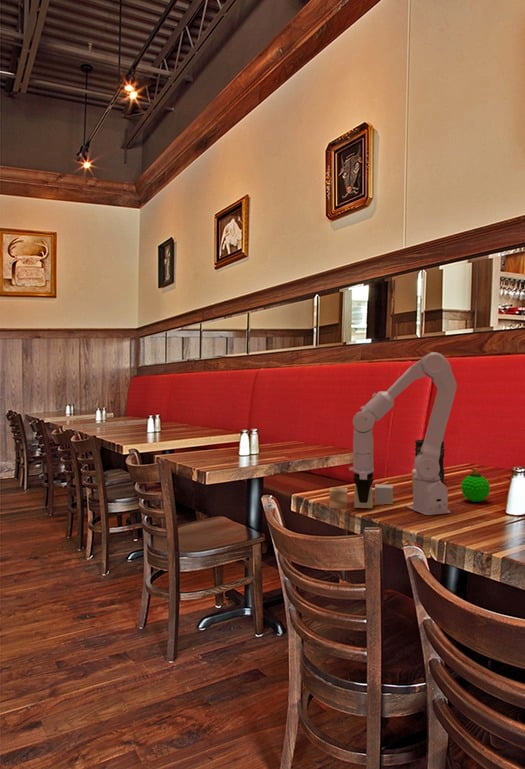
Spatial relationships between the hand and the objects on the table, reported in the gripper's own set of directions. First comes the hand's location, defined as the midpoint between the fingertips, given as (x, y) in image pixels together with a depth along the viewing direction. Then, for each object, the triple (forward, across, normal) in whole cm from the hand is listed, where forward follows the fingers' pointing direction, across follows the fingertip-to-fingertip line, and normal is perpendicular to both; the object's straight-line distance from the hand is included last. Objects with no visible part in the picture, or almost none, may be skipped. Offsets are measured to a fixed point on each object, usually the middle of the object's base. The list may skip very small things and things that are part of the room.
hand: (363, 500), depth 156 cm
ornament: (+2, -13, +33) cm, 35 cm away
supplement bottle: (+2, -23, +18) cm, 29 cm away
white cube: (+2, -7, +6) cm, 9 cm away
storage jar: (+2, -39, +23) cm, 45 cm away
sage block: (+2, 0, 0) cm, 2 cm away
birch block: (+2, 0, -7) cm, 7 cm away
